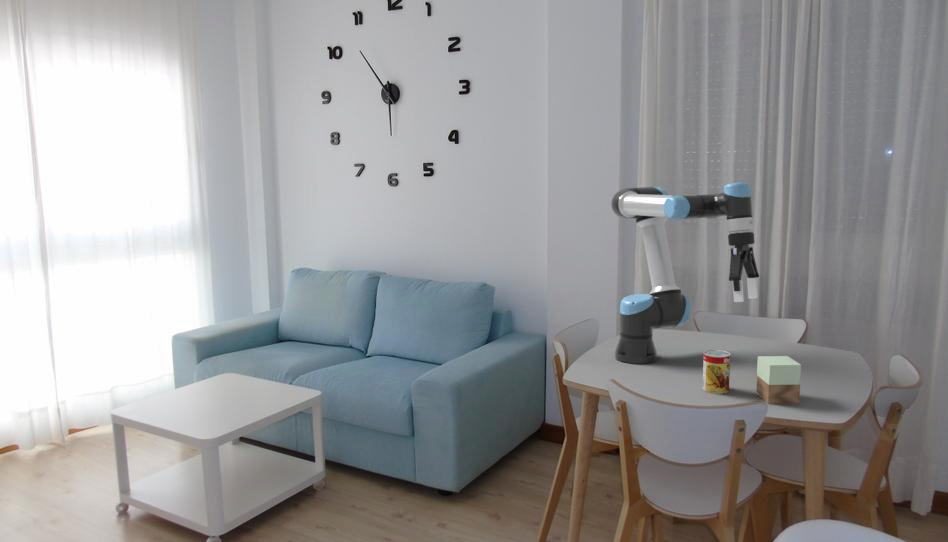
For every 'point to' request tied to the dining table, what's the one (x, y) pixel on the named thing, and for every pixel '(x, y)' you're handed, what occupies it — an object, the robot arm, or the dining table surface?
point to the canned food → (716, 371)
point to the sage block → (778, 370)
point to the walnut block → (778, 392)
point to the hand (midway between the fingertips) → (746, 300)
